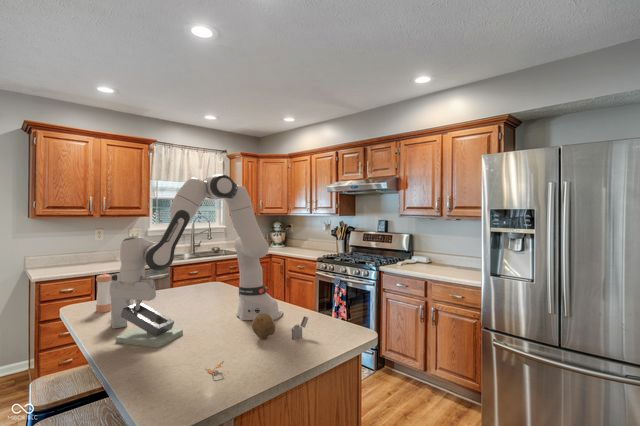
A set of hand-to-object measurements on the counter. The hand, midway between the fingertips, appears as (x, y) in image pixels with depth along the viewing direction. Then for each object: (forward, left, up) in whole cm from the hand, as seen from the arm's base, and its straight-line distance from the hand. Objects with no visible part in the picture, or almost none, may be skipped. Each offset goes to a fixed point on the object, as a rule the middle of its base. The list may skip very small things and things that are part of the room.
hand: (133, 309), depth 141 cm
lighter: (-66, -17, -11) cm, 69 cm away
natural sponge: (-52, -12, -11) cm, 55 cm away
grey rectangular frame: (-7, 0, -5) cm, 8 cm away
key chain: (-50, +17, -12) cm, 54 cm away
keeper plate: (-8, 0, -11) cm, 14 cm away
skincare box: (+17, -9, -11) cm, 22 cm away
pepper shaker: (+43, -25, -11) cm, 51 cm away
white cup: (+27, -22, -11) cm, 36 cm away
